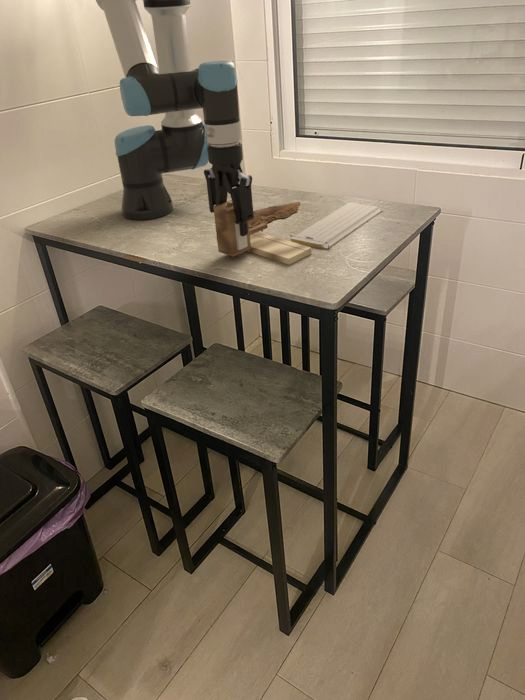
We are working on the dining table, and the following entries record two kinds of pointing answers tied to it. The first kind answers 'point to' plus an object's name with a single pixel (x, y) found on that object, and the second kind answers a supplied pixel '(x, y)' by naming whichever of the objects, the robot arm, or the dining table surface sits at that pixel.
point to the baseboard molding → (336, 226)
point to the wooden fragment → (273, 214)
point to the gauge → (230, 229)
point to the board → (277, 248)
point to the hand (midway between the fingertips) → (234, 245)
